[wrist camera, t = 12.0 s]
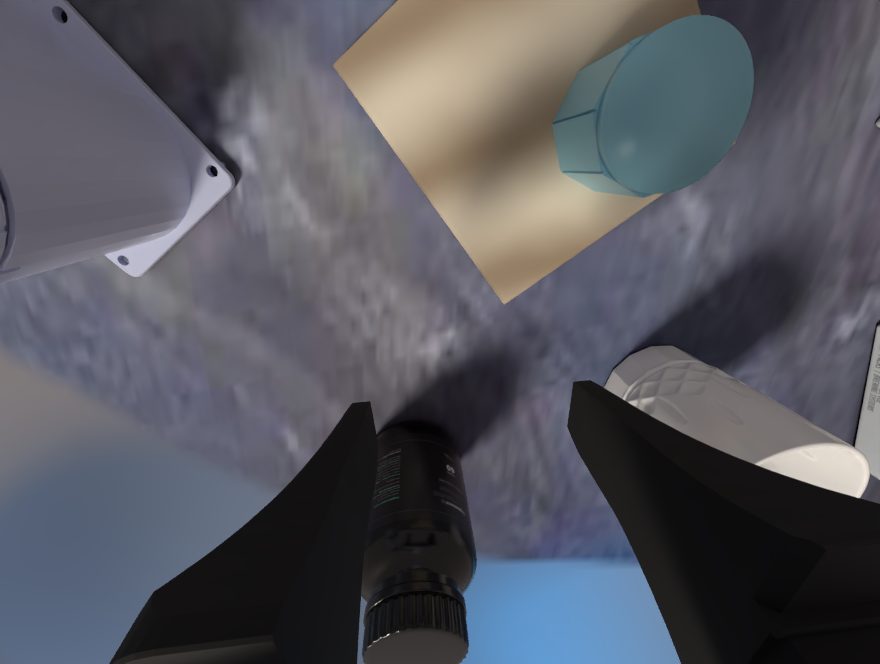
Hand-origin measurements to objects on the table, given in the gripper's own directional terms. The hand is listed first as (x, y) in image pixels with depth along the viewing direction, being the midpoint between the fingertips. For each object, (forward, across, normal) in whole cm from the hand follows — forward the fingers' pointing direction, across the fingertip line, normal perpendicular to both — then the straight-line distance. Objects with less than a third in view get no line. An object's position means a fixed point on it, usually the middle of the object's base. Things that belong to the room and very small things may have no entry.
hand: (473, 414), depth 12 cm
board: (+10, -5, -10) cm, 15 cm away
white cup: (+10, -14, +7) cm, 19 cm away
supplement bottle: (+10, +3, +12) cm, 16 cm away
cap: (+9, -8, -9) cm, 15 cm away
